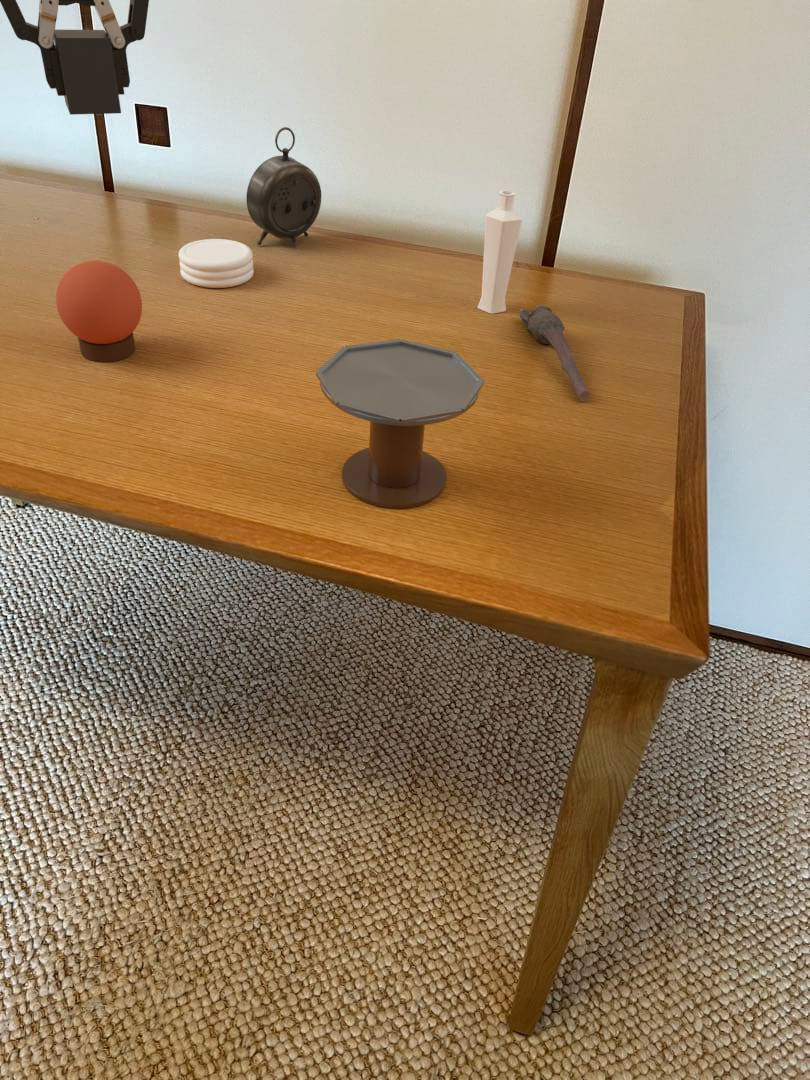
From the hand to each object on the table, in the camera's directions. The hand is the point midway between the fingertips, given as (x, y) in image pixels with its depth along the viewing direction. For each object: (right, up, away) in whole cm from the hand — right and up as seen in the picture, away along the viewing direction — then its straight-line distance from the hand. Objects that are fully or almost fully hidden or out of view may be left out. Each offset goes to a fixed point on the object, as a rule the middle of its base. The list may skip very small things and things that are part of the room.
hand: (90, 92), depth 75 cm
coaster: (+3, -5, +38) cm, 39 cm away
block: (0, -1, +1) cm, 1 cm away
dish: (+28, -36, +3) cm, 45 cm away
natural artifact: (+47, -19, +25) cm, 56 cm away
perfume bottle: (+41, -10, +35) cm, 55 cm away
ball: (-5, -19, +19) cm, 28 cm away
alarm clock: (+11, +4, +49) cm, 51 cm away
